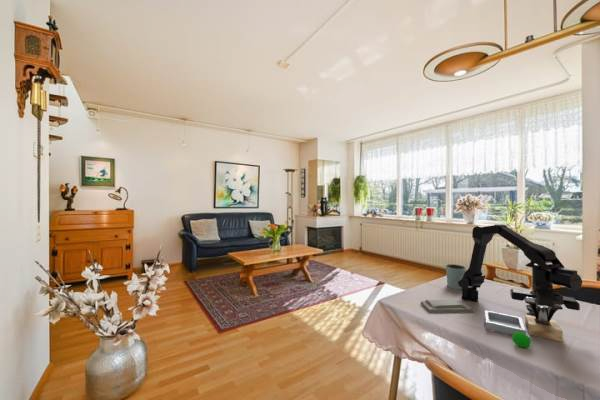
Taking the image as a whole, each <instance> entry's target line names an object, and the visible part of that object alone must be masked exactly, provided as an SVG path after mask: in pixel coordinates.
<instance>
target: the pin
mask: <svg viewBox="0 0 600 400" xmlns="http://www.w3.org/2000/svg"><path fill="white" fill-rule="evenodd" d="M537 315H538V319H537V323H538V324H543V325H548V306H541V305H538V306H537Z"/></svg>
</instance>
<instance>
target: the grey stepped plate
mask: <svg viewBox="0 0 600 400" xmlns="http://www.w3.org/2000/svg"><path fill="white" fill-rule="evenodd" d="M420 305H421V306H422V307H423V308H425V310H426V311H427V312H428V313H430V314H443V313H444V314H446V313H447V314H450V313H451V314H454V313H455V314H456V313H459V314H463V313H467V314H468V313H473V314H474V310H473V308H472V307H470V306H469V305H468V304H466V303H464V301H462V300H453V299H426V300H421V302H420Z"/></svg>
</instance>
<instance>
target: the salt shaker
mask: <svg viewBox="0 0 600 400" xmlns="http://www.w3.org/2000/svg"><path fill="white" fill-rule="evenodd" d="M529 294H532V290H530V291H529ZM535 303H536V309H537V306H538V305H539V304H538V303H537V300H535ZM525 308H526V310H527V311H528V312H527V313H526V315H530V316H535V315H534V313H533V310H532V308H531V306H530V304H526V305H525Z"/></svg>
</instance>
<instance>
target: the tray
mask: <svg viewBox="0 0 600 400" xmlns="http://www.w3.org/2000/svg"><path fill="white" fill-rule="evenodd" d="M484 323H485V330H487V331H493V332H496V333H501V334H505V335H509V336H513V334H514V333H516V332H522V333H524V334H526V335H527V330H526V326H525V325H524V324H525V323H524V322H523V319H522V317H520V316H515V315H512V314H511V315H510V314H506V313H502V312H501V313H499V312H496V311H491V310H486V309H485V310H484Z"/></svg>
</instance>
